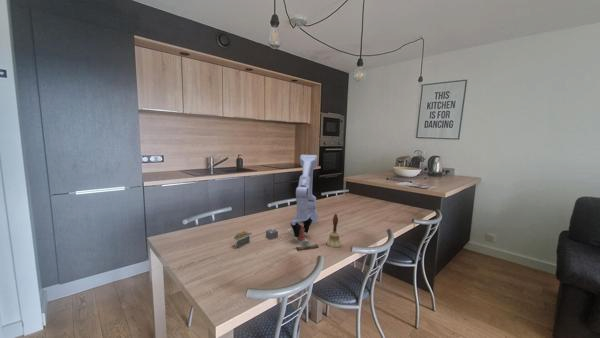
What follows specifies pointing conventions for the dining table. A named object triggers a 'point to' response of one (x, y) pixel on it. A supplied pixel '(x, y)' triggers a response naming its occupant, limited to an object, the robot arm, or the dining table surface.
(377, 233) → the dining table surface
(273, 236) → the die
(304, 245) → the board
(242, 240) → the potted plant
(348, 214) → the dining table surface
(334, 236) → the hand bell
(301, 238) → the pawn
